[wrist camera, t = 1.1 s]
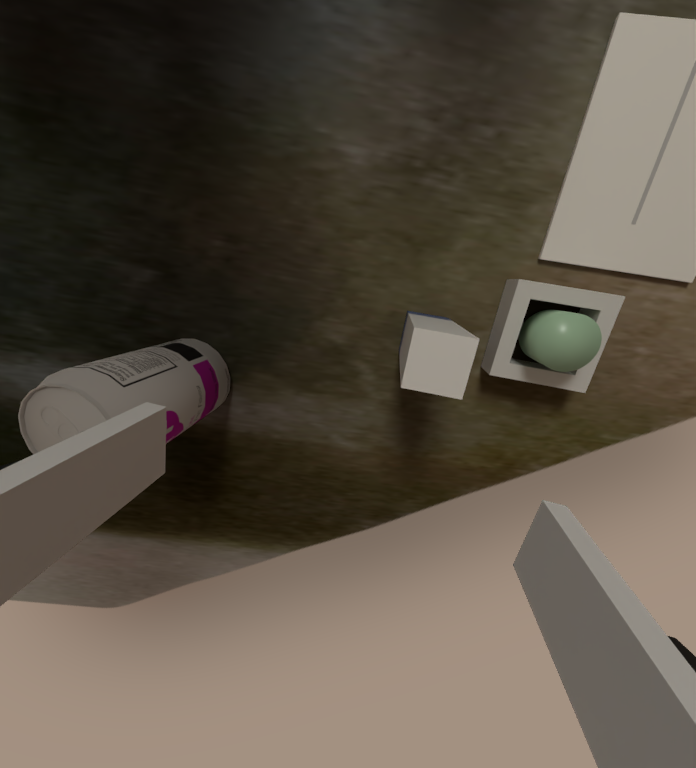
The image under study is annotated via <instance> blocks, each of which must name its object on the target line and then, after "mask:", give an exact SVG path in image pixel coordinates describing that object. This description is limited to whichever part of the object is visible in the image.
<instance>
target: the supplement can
mask: <svg viewBox="0 0 696 768" xmlns="http://www.w3.org/2000/svg"><path fill="white" fill-rule="evenodd" d="M229 391H230V374H229V371H228V368H227V364H226V363H225V361H224V360H223V358H222V357H221V355H220V354H219V353H218V352H217V351H216V350H215V349H213V348H212V347H211V346H210V345H209V344H207V343H204V342H202V341H199V340H197V339H178V340H175V341H171V342H167V343H163V344H159V345H155V346H151V347H148V348H144V349H140V350H136V351H132V352H128V353H124V354H121V355H117V356H113V357H109V358H105V359H101V360H97V361H94V362H90V363H86V364H82V365H78V366H74V367H70V368H67V369H63V370H60V371H58V372H56V373H53V374H51V375H49V376H47V377H46V378H45V379H44V380H43V381H42V382H41V384H40V385H39V386H38V387H37V388H35V389H33V390H31V391H29V393H28V394H27V395H26V396H25V398H24V399H23V400H22V401H21V405H20V410H19V415H18V418H19V424H20V430H21V434H22V436H23V438H24V440H25V442H26V444H27V446H28V448H29V450H30V451H31V452H32V453H33V454H36V453H38V452H40V451H42V450H45V449H47V448H49V447H51V446H53V445H55V444H57V443H60V442H62V441H64V440H66V439H68V438H70V437H72V436H75V435H77V434H79V433H81V432H83V431H85V430H87V429H90V428H92V427H94V426H96V425H98V424H100V423H103V422H105V421H107V420H109V419H111V418H113V417H115V416H118V415H120V414H122V413H124V412H126V411H128V410H130V409H133V408H135V407H137V406H139V405H141V404H143V403H145V402H149V403H153V404H157V405H161V406H165V407H167V408H166V444H167V443H168V442H169V441H171V440H172V439H174V438H175V437H177V436H178V435H179V434H181V433H182V432H184V431H185V430H187V429H188V428H189V427H191V426H192V425H194V424H195V423H197V422H198V421H199V420H201V419H202V418H204V417H205V416H207V415H208V414H209V413H211V412H212V411H214V410H215V409H217V408H218V407H219V406H220V405H221V404H222V403H223V402H224V401H225V400H226V398H227V395H228V393H229Z"/></svg>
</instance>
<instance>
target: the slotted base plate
mask: <svg viewBox="0 0 696 768" xmlns="http://www.w3.org/2000/svg"><path fill="white" fill-rule="evenodd" d="M538 259H541V260H547V261H553V262H560V263H566V264H572V265H579V266H585V267H591V268H598V269H604V270H611V271H617V272H623V273H630V274H636V275H642V276H649V277H655V278H661V279H668V280H674V281H681V282H687V283H692V282H693V280H694V278H695V276H696V20H694V19H683V18H673V17H662V16H651V15H641V14H630V13H619V14H618V16H617V17H616V19H615V22H614V26H613V29H612V32H611V35H610V38H609V41H608V44H607V47H606V50H605V53H604V57H603V60H602V63H601V66H600V69H599V72H598V75H597V78H596V81H595V84H594V88H593V91H592V94H591V97H590V100H589V103H588V106H587V109H586V112H585V115H584V118H583V122H582V125H581V128H580V131H579V134H578V137H577V140H576V143H575V146H574V149H573V153H572V156H571V159H570V162H569V165H568V168H567V171H566V174H565V177H564V180H563V184H562V187H561V190H560V193H559V196H558V199H557V202H556V205H555V208H554V211H553V214H552V218H551V221H550V224H549V227H548V230H547V233H546V236H545V239H544V242H543V245H542V249H541V252H540V255H539V258H538Z"/></svg>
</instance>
